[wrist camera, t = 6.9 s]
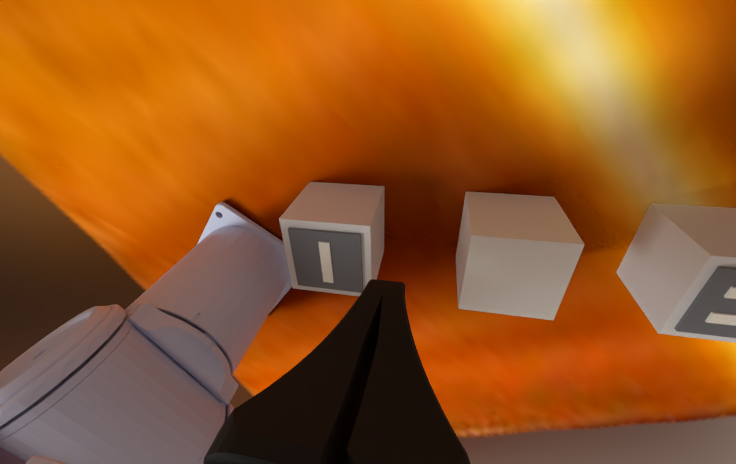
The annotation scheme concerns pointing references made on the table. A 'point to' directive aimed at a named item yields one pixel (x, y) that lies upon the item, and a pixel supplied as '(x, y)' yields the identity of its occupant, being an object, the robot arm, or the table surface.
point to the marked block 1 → (334, 237)
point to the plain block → (514, 254)
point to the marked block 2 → (685, 270)
